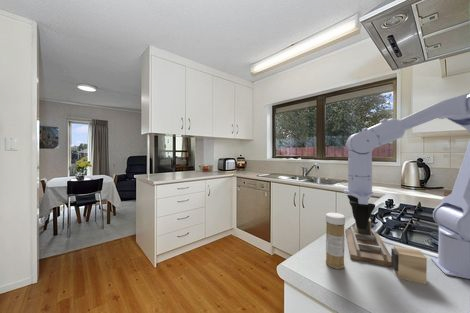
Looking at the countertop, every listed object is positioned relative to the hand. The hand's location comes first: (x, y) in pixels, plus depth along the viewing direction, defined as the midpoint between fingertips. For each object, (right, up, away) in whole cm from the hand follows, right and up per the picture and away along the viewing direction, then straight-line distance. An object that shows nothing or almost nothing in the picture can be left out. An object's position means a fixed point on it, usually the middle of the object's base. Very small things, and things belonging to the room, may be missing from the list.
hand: (359, 223), depth 56 cm
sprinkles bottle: (-9, -10, -3) cm, 14 cm away
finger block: (+7, -10, -8) cm, 15 cm away
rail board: (+6, -9, +6) cm, 13 cm away
